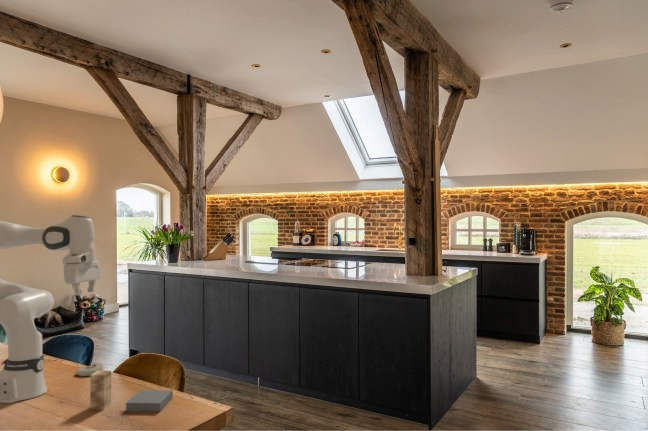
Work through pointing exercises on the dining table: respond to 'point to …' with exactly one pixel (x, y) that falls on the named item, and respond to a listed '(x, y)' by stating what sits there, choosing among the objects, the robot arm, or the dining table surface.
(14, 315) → the robot arm
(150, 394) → the plinth
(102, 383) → the oak block
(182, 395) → the dining table surface
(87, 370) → the fossil
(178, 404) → the dining table surface
